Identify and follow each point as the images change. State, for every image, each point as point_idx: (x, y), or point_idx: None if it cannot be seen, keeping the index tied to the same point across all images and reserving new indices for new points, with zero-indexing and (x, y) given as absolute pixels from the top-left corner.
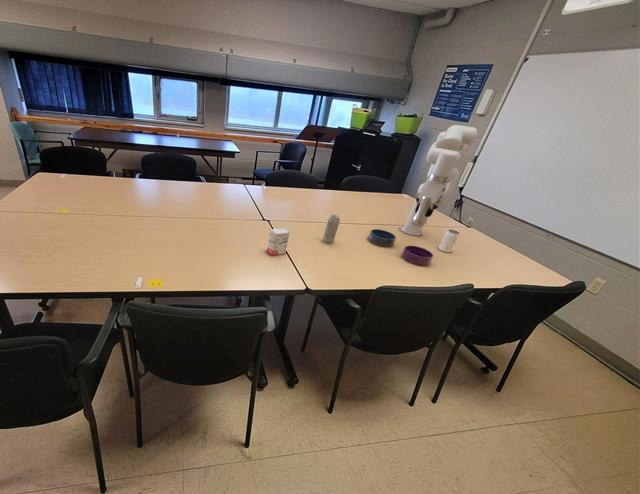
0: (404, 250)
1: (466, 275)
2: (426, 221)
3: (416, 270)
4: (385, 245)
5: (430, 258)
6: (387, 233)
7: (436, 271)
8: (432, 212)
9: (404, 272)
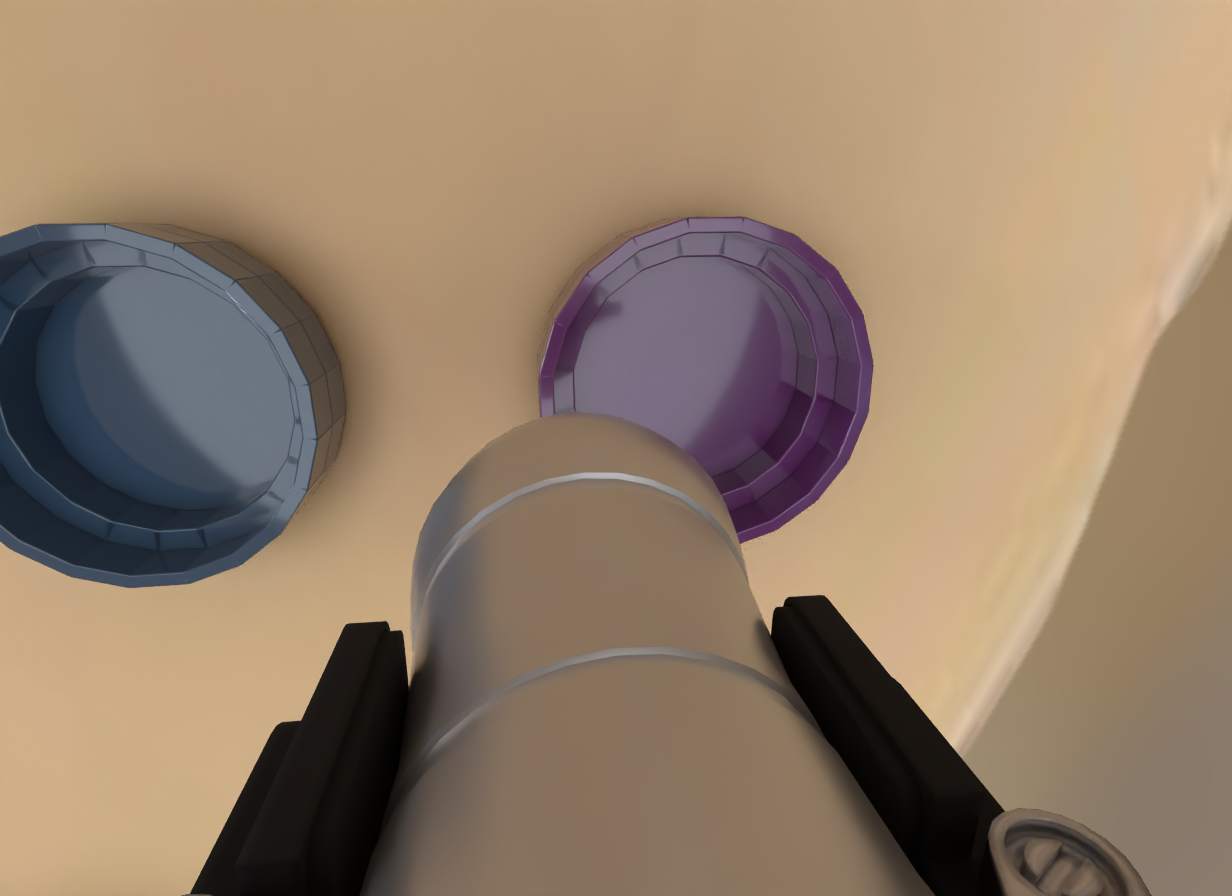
0: None
1: (1144, 106)
2: (733, 526)
3: (821, 567)
4: (326, 470)
5: (864, 393)
6: (53, 245)
7: (929, 381)
8: (946, 742)
9: None
